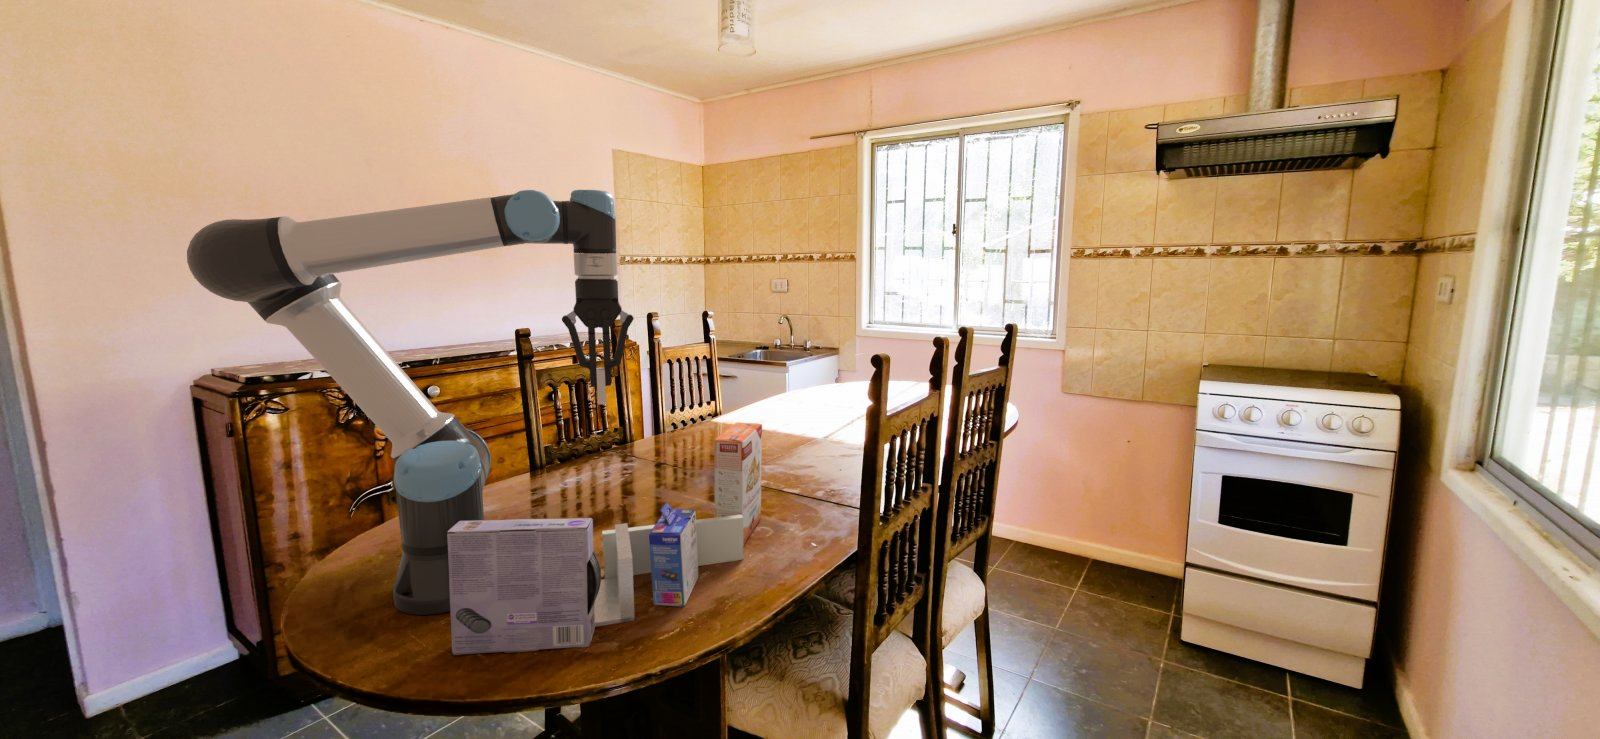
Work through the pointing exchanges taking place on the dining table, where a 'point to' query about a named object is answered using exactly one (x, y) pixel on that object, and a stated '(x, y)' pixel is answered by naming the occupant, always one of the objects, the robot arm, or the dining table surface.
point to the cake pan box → (522, 584)
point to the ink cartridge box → (673, 556)
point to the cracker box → (739, 474)
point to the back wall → (713, 544)
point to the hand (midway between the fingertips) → (601, 402)
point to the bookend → (617, 585)
